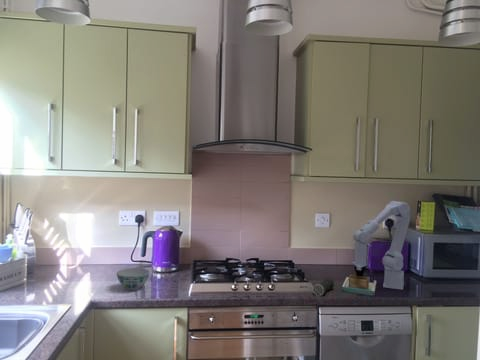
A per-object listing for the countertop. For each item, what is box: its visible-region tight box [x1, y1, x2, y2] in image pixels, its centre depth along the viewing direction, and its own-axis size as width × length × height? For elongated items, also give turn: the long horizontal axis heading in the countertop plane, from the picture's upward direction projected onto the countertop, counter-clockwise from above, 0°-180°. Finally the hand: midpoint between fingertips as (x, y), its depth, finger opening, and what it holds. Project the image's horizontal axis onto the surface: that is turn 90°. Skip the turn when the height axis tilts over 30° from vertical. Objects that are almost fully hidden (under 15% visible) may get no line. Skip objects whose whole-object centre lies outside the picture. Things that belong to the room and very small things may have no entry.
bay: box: [341, 276, 377, 296], centre depth 196 cm, size 15×20×2 cm
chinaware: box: [116, 267, 150, 291], centre depth 184 cm, size 15×15×8 cm
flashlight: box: [312, 278, 335, 297], centre depth 188 cm, size 15×5×5 cm, turn 146°
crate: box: [348, 274, 370, 290], centre depth 191 cm, size 9×7×6 cm
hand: (359, 281), depth 196 cm, fingers closed
